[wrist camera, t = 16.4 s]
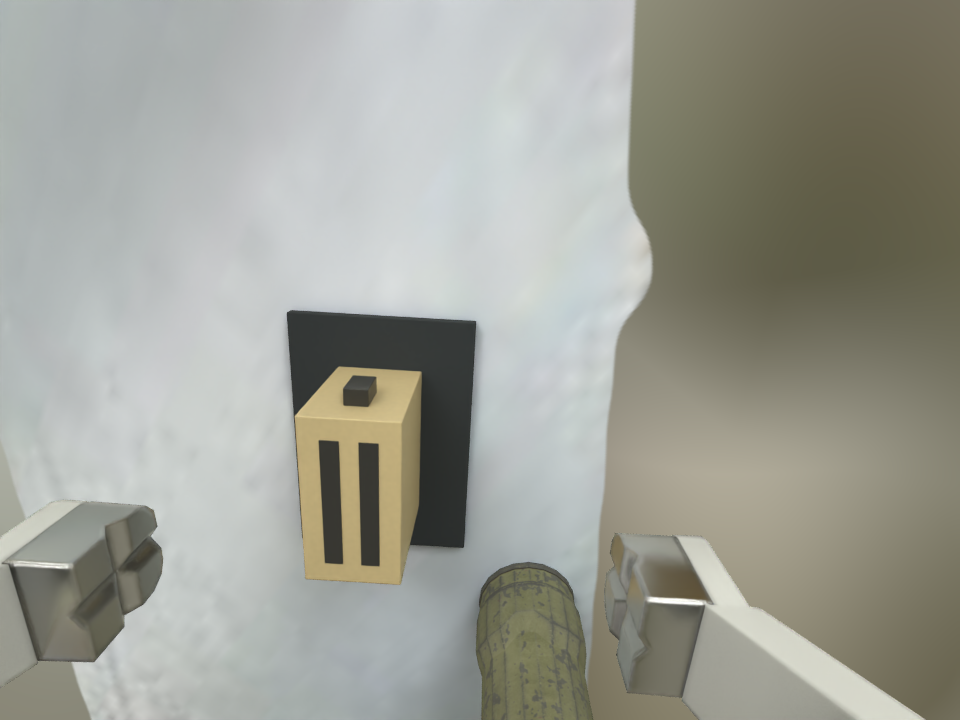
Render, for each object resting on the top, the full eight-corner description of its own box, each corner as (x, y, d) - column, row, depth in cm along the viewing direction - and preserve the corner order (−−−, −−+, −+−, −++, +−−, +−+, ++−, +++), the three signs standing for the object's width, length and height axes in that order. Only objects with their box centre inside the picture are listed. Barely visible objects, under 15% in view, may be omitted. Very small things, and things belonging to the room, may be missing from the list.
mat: (290, 310, 37) (286, 312, 37) (476, 321, 37) (475, 323, 37) (305, 532, 44) (302, 538, 43) (463, 541, 44) (463, 548, 43)
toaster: (419, 505, 42) (400, 586, 33) (342, 500, 42) (304, 580, 33) (422, 356, 38) (402, 404, 29) (337, 351, 38) (292, 397, 29)
